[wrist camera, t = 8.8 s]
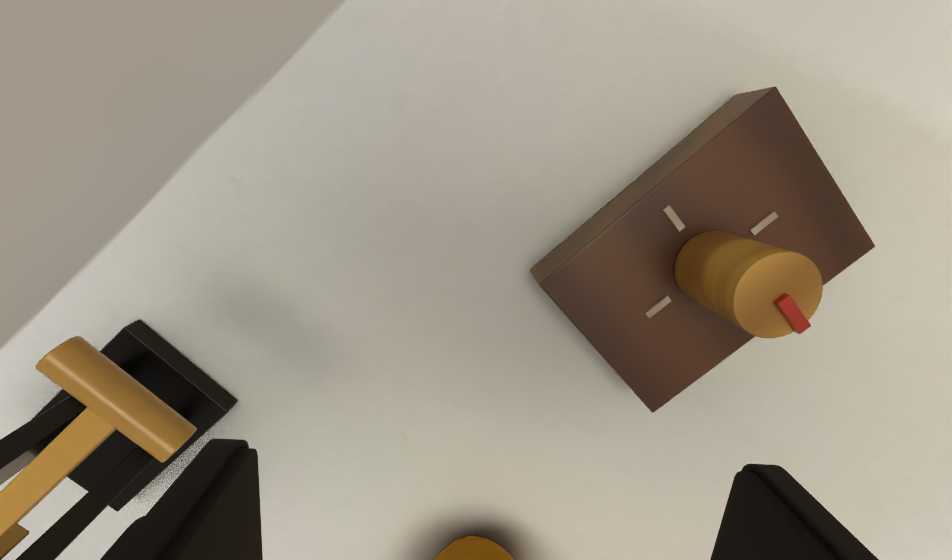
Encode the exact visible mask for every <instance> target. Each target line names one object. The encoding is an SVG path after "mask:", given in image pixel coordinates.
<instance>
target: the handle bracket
mask: <svg viewBox="0 0 952 560" xmlns="http://www.w3.org/2000/svg"><path fill="white" fill-rule="evenodd" d="M100 352H101V353H102V354H104V355H105V356H106V357H107V358H109V359H110V360H111V361H112V362H114V363H115V364H116V365H117V366H119V367H120V368H121V369H123V370H124V371H125V372H126V373H128V374H129V375H130V376H131V377H133V378H134V379H135V380H137V381H138V382H139V383H140V384H142V385H143V386H144V387H145V388H147V389H148V390H149V391H150V392H152V393H153V394H154V395H156V396H157V397H158V398H159V399H161V400H162V401H163V402H164V403H166V404H167V405H168V406H170V407H171V408H172V409H173V410H175V411H176V412H177V413H178V414H180V415H181V416H182V417H184V418H185V419H186V420H187V421H189V422H190V423H191V424H192V425H194V426H195V427H196V428H197V430H196V431H195V433H194V434H193V435H192V436H191V437H190V438H189V439H188V440H187V441H186V442H185V443H184V444H183V445H182V446H181V447H180V448H179V449H178V450H177V451H176V452H175V453H174V454H173V455H172V456H171V457H170V458H168V459H167V460H166V461H165V462H163V463H162V462H160V461H159V460H157V459H156V458H155V457H153V456H152V455H151V454H149V453H148V452H147V451H145V450H144V449H143V448H141V447H140V446H139V445H137V444H136V443H135V442H133V441H132V440H131V439H129V438H128V437H127V436H125V435H124V434H123V433H121V432H120V431H119V430H117V429H116V430H115V431H114V432H113V433H112V434H111V435H110V436H109V437H108V438H107V439H106V440H105V441H103V442H102V443H101V444H100V445H99V446H98V447H97V448H96V449H95V450H94V451H93V452H92V453H91V454H90V455H89V456H88V457H87V458H86V459H85V460H83V461H82V462H81V463H80V464H79V465H78V466H77V467H76V468H75V469H74V470H73V471H72V472H71V473H70V474H69V475H68V476H67V477H68V478H70V479H71V480H73V481H74V482H75V483H77V484H78V485H80V486H81V487H83V488H84V489H85V490H87V491H88V493H87V494H86V495H85V496H84V497H83V498H82V499H81V500H79V501H78V502H77V503H76V504H75V505H74V506H73V507H72V508H71V509H70V510H69V511H68V512H67V513H65V514H64V515H63V516H62V517H61V518H60V519H59V520H58V521H57V522H56V523H55V524H54V525H53V526H51V527H50V528H49V529H48V530H47V531H46V532H45V533H44V534H43V535H42V536H41V537H40V538H39V539H37V540H36V541H35V542H34V543H33V544H32V545H31V546H30V547H29V548H28V549H27V550H26V551H25V552H23V553H22V554H21V555H20V556H19V557H18V558H17V559H16V560H55V559H56V558H57V557H58V556H59V555H60V554H61V552H62V551H63V550H64V549H65V548H66V547H67V546H68V545H69V544H70V543H71V542H72V541H73V540H74V539H75V538H76V537H77V536H78V535H79V534H80V533H81V532H82V531H83V530H84V529H85V528H86V527H87V526H88V525H89V524H90V523H91V522H92V521H93V520H94V519H95V518H96V517H97V516H98V515H99V514H100V513H101V512H102V511H103V510H104V509H105V508H106V507H107V506H110V507H111V508H113V509H114V510H116V511H119V510H120V509H121V508H122V507H124V506H125V505H126V504H127V503H128V502H129V501H130V500H131V499H132V498H133V497H135V496H136V495H137V494H138V493H139V492H140V491H141V490H142V489H143V488H145V487H146V486H147V485H148V484H149V483H150V482H151V481H152V480H153V479H154V478H156V477H157V476H158V475H159V474H160V473H161V472H162V471H163V470H164V469H166V468H167V467H168V466H169V465H170V464H171V463H172V462H173V461H174V460H175V459H177V458H178V457H179V456H180V455H181V454H182V453H183V452H184V451H185V450H187V449H188V448H189V447H190V446H191V445H192V444H193V443H194V442H195V441H196V440H198V439H199V438H200V437H201V436H202V435H203V434H204V433H205V432H206V431H208V430H209V429H210V428H211V427H212V426H213V425H214V424H215V423H216V422H217V421H219V420H220V419H221V418H222V417H223V416H224V415H225V414H226V413H227V412H228V411H229V410H230V409H231V408H232V407H233V406H234V405H235V403H236V402H237V400H236V399H235V398H233V397H232V396H231V395H230V394H229V393H227V392H226V391H225V390H224V389H223V388H221V387H220V386H219V385H218V384H216V383H215V382H214V381H213V380H212V379H210V378H209V377H208V376H207V375H206V374H204V373H203V372H202V371H201V370H200V369H198V368H197V367H196V366H195V365H193V364H192V363H191V362H190V361H189V360H187V359H186V358H185V357H184V356H183V355H181V354H180V353H179V352H178V351H177V350H175V349H174V348H173V347H172V346H170V345H169V344H168V343H167V342H166V341H164V340H163V339H162V338H161V337H160V336H158V335H157V334H156V333H155V332H154V331H152V330H151V329H150V328H149V327H148V326H146V325H145V324H144V323H143V322H141V321H140V320H137V321H135V322H133V323H131V324H130V325H128V326H126V327H124V328H123V329H122V330H121V331H120V332H119V333H118V334H117V335H116V336H115V337H114V338H113V339H112V340H111V341H110V342H109V343H108V344H107V345H106V346H105V347H104V348H103V349H102V350H101V351H100ZM86 408H87V407H86V406H85V405H84V404H82V403H81V402H80V401H78V400H77V399H76V398H74V397H73V396H72V395H70V394H69V393H68V392H66V391H65V390H64V389H62V390H61V391H60V392H59V393H58V394H57V395H56V396H55V397H54V398H53V399H52V400H51V401H50V402H49V403H48V404H47V405H46V406H45V407H44V408H43V409H42V410H41V411H40V412H39V413H38V414H37V415H36V416H35V417H34V418H33V419H32V420H31V421H29V422H28V423H26V424H25V425H23V426H21V427H20V428H18V429H17V430H15V431H13V432H12V433H10V434H9V435H7V436H6V437H4V438H2V439H1V440H0V485H1V484H2V483H4V482H5V481H7V480H8V479H9V478H11V477H12V476H13V475H15V474H16V473H17V472H19V471H20V470H22V469H23V468H24V467H26V466H27V465H28V464H29V463H30V462H31V461H32V460H33V459H35V458H36V457H37V456H38V455H39V454H40V453H41V452H42V451H43V450H44V449H45V448H46V447H47V446H48V445H49V444H50V443H51V442H52V441H53V440H54V439H55V438H56V437H57V436H58V435H59V434H60V433H61V432H62V431H63V430H64V429H65V428H66V427H67V426H68V425H69V424H70V423H71V422H72V421H74V420H75V419H76V418H77V417H78V416H79V415H80V414H81V413H82V412H83V411H84V410H85V409H86Z"/></svg>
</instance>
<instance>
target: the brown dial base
mask: <svg viewBox="0 0 952 560" xmlns="http://www.w3.org/2000/svg"><path fill="white" fill-rule="evenodd" d="M713 230H718V231H724V232H727V233H731V234H734V235H738V236H741V237H745V238H748V239H751V240H755V241H758V242H762V243H765V244H769V245H772V246H775V247H779V248H782V249H786V250H789V251H793V252H796V253H799V254H802V255H804V256H806V257H807V258H809V259H810V260H811V261H812V262H813V263H814V264H815V265H816V266H817V268H818V270H819V272H820V274H821V277H822V284H823V285H824V284H826V283H827V282H828V281H830V280H831V279H832V278H834V277H835V276H836V275H838V274H839V273H840V272H842V271H843V270H844V269H846V268H847V267H848V266H850V265H851V264H852V263H854V262H855V261H856V260H858V259H859V258H860V257H862V256H863V255H864V254H866V253H867V252H868V251H870V250H871V249H872V248H874V247H875V245H874V243H873V242H872V240H871V239H870V237H869V235H868V234H867V232H866V231H865V229H864V227H863V226H862V224H861V223H860V221H859V219H858V218H857V216H856V215H855V213H854V211H853V210H852V208H851V207H850V205H849V203H848V202H847V200H846V199H845V197H844V195H843V194H842V192H841V190H840V189H839V187H838V186H837V184H836V182H835V181H834V179H833V178H832V176H831V174H830V173H829V171H828V170H827V168H826V166H825V165H824V163H823V162H822V160H821V158H820V157H819V155H818V154H817V152H816V150H815V149H814V147H813V145H812V144H811V142H810V141H809V139H808V137H807V136H806V134H805V133H804V131H803V129H802V128H801V126H800V125H799V123H798V121H797V120H796V118H795V117H794V115H793V113H792V112H791V110H790V109H789V107H788V105H787V104H786V102H785V101H784V99H783V97H782V96H781V94H780V92H779V91H778V89H777V88H776V87H771V88H766V89H761V90H756V91H751V92H746V93H742V94H737V95H735V96H734V97H733V98H732V99H730V100H729V101H728V102H727V103H726V104H725V105H723V106H722V107H721V108H720V109H719V110H718V111H716V112H715V113H714V114H713V115H712V116H710V117H709V118H708V119H707V120H706V121H705V122H703V123H702V124H701V125H700V126H699V127H698V128H696V129H695V130H694V131H693V132H692V133H690V134H689V135H688V136H687V137H686V138H685V139H683V140H682V141H681V142H680V143H679V144H677V145H676V146H675V147H674V148H673V149H672V150H670V151H669V152H668V153H667V154H666V155H665V156H663V157H662V158H661V159H660V160H659V161H657V162H656V163H655V164H654V165H653V166H652V167H650V168H649V169H648V170H647V171H646V172H645V173H643V174H642V175H641V176H640V177H639V178H637V179H636V180H635V181H634V182H633V183H632V184H630V185H629V186H628V187H627V188H626V189H625V190H623V191H622V192H621V193H620V194H619V195H617V196H616V197H615V198H614V199H613V200H612V201H610V202H609V203H608V204H607V205H606V206H604V207H603V208H602V209H601V210H600V211H599V212H597V213H596V214H595V215H594V216H593V217H592V218H590V219H589V220H588V221H587V222H586V223H584V224H583V225H582V226H581V227H580V228H579V229H577V230H576V231H575V232H574V233H573V234H572V235H570V236H569V237H568V238H567V239H566V240H564V241H563V242H562V243H561V244H560V245H559V246H557V247H556V248H555V249H554V250H553V251H551V252H550V253H549V254H548V255H547V256H546V257H544V258H543V259H542V260H541V261H540V262H539V263H537V264H536V265H535V266H534V267H533V268H531V270H530V271H531V273H532V275H533V276H534V278H535V279H536V281H537V282H538V284H539V285H540V287H541V288H542V289H543V290H544V291H545V292H546V293H547V294H548V296H549V297H550V298H551V299H552V300H553V301H554V302H555V304H556V305H557V306H558V307H559V308H560V309H561V310H562V311H563V313H564V314H565V315H566V316H567V317H568V318H569V319H570V320H571V322H572V323H573V324H574V325H575V326H576V327H577V328H578V329H579V331H580V332H581V333H582V334H583V335H584V336H585V337H586V339H587V340H588V341H589V342H590V343H591V344H592V345H593V346H594V348H595V349H596V350H597V351H598V352H599V353H600V354H601V355H602V357H603V358H604V359H605V360H606V361H607V362H608V363H609V364H610V366H611V367H612V368H613V369H614V370H615V371H616V372H617V373H618V375H619V376H620V377H621V378H622V379H623V380H624V381H625V383H626V384H627V385H628V386H629V387H630V388H631V389H632V390H633V392H634V393H635V394H636V395H637V396H638V397H639V398H640V399H641V401H642V402H643V403H644V404H645V405H646V406H647V407H648V408H649V410H650V411H651V412H655V411H656V410H657V409H659V408H660V407H661V406H663V405H664V404H665V403H667V402H668V401H669V400H671V399H672V398H673V397H675V396H676V395H677V394H679V393H680V392H681V391H683V390H684V389H685V388H687V387H688V386H689V385H691V384H692V383H693V382H695V381H696V380H697V379H699V378H700V377H701V376H703V375H704V374H705V373H707V372H708V371H709V370H711V369H712V368H713V367H715V366H716V365H718V364H719V363H720V362H722V361H723V360H724V359H726V358H727V357H728V356H730V355H731V354H732V353H734V352H735V351H736V350H738V349H739V348H740V347H742V346H743V345H744V344H746V343H747V342H748V341H750V340H751V339H752V338H754V337H755V336H754V335H752V334H750V333H748V332H746V331H745V330H743V329H741V328H740V327H738V326H737V325H735V324H733V323H732V322H730V321H728V320H727V319H725V318H723V317H722V316H720V315H719V314H717V313H715V312H714V311H712V310H710V309H709V308H707V307H705V306H704V305H702V304H701V303H699V302H697V301H696V300H694V299H692V298H691V297H689V296H687V295H686V294H685V293H684V292H683V291H682V290H681V289H680V288H679V286H678V284H677V282H676V279H675V273H674V268H675V262H676V259H677V256H678V254H679V252H680V250H681V249H682V247H683V246H684V245H685V244H686V243H687V242H688V241H689V240H690V239H692V238H693V237H695V236H696V235H698V234H701V233H703V232H707V231H713Z"/></svg>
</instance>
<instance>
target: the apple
mask: <svg viewBox="0 0 952 560" xmlns="http://www.w3.org/2000/svg"><path fill="white" fill-rule="evenodd" d="M434 560H515V559H514V558H513V557H512V556H511V555H510V554H509V553H508V552H507V551H506V550H505V549H503V548H502V547H501V546H499V545H498V544H497V543H496V542H494V541H491V540H489V539H487V538H484V537H478V536H467V537H464V538H460V539H457V540H455V541H454V542H452V543H451V544H450V545H449V546H448V547H446V548H445V549H444V550H443V551H442V552H441V553H440V554H439V555H437V556H436V557H435V559H434Z"/></svg>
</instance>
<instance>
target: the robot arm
mask: <svg viewBox="0 0 952 560" xmlns="http://www.w3.org/2000/svg"><path fill="white" fill-rule="evenodd" d="M100 560H263V559H262V538H261V517H260V496H259V475H258V455H257V451H256V449H249V446H248V443H247V441H245V440H235V439H211V440H210V441H209V442H208V443H207V444H206V445H205V446H204V447H203V448H202V450H201V451H200V452H199V453H198V454H197V456H196V457H195V458H194V459H193V460H192V461H191V463H190V464H189V465H188V466H187V467H186V468H185V470H184V471H183V472H182V473H181V474H180V476H179V477H178V478H177V479H176V480H175V481H174V483H173V484H172V485H171V486H170V487H169V489H168V490H167V491H166V492H165V493H164V494H163V496H162V497H161V498H160V499H159V500H158V502H157V503H156V504H155V505H154V506H153V507H152V509H151V510H150V511H149V512H148V513H147V515H146V516H143V517H141V518H139V519H137V520H135V521H134V522H133V523H132V524H131V525H130V526H129V527H128V528H127V529H126V530H125V532H124V533H123V534H122V535H121V536H120V537H119V538H118V540H117V541H116V542H115V543H114V544H113V545H112V546H111V548H110V549H109V550H108V551H107V552H106V553H105V555H104V556H103V557H102V558H101V559H100ZM711 560H878V559H877V558H876V557H875V556H874V555H873V554H872V553H871V552H870V551H869V550H868V549H867V548H866V547H865V546H864V545H863V544H862V543H861V542H860V541H859V540H858V539H857V538H855V537H854V536H853V535H852V534H851V533H850V532H849V531H848V530H847V529H846V528H845V527H844V526H843V525H842V524H841V523H840V522H839V521H838V520H837V519H836V518H835V517H834V516H833V515H832V514H830V513H829V512H828V511H827V510H826V509H825V508H824V507H823V506H822V505H821V504H820V503H819V502H818V501H817V500H816V499H815V498H814V497H813V496H812V495H811V494H810V493H809V492H808V491H807V490H805V489H804V488H803V487H802V486H801V485H800V484H799V483H798V482H797V481H796V480H795V479H794V478H793V477H792V476H791V475H790V474H789V473H788V472H787V471H786V470H784V469H783V468H782V467H780V466H777V465H763V464H747V465H745V466H744V467H743V469H742V471H740V472H738V473H737V474H736V475H735V477H734V481H733V484H732V488H731V491H730V495H729V498H728V501H727V505H726V508H725V512H724V515H723V519H722V522H721V525H720V529H719V532H718V536H717V539H716V543H715V546H714V550H713V553H712V556H711Z"/></svg>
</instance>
